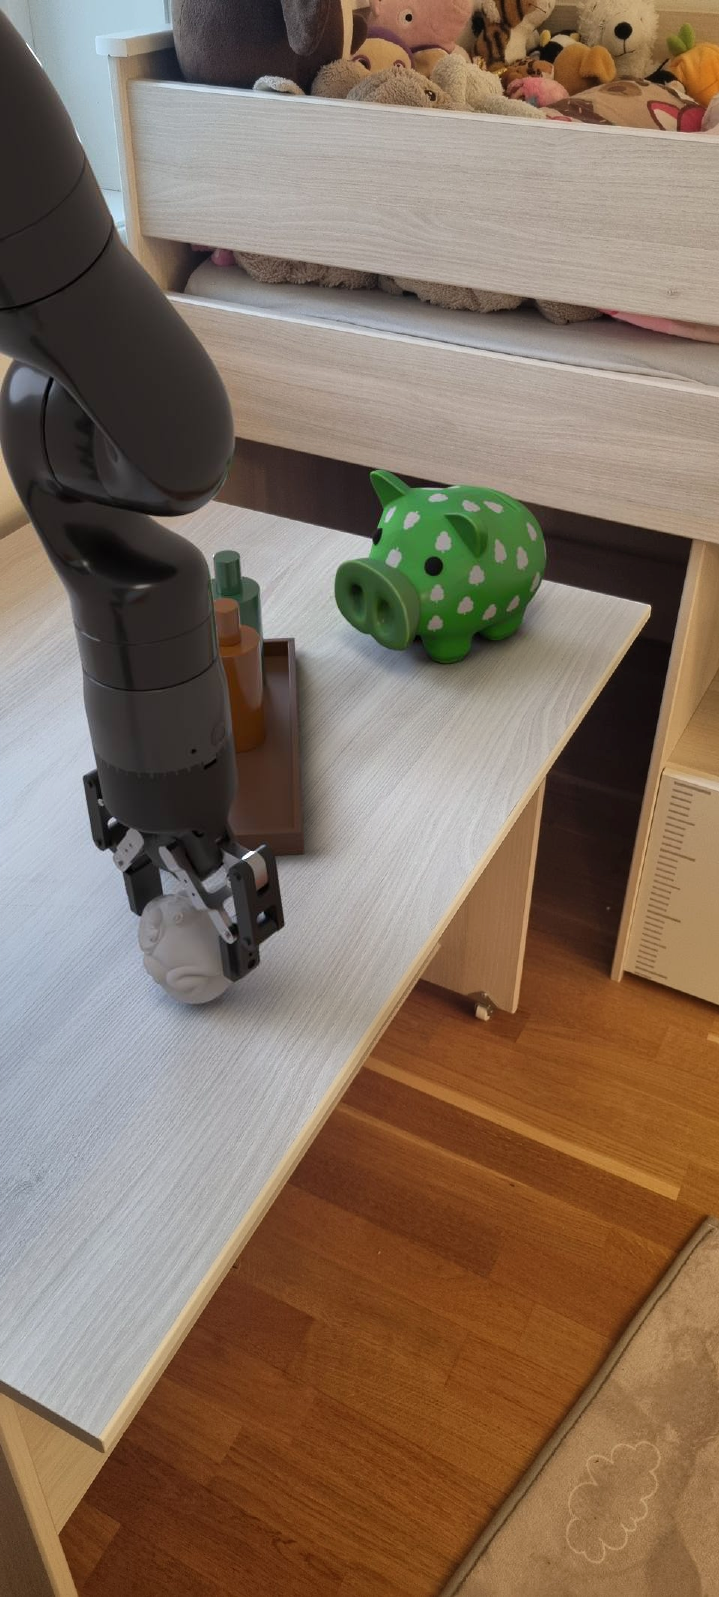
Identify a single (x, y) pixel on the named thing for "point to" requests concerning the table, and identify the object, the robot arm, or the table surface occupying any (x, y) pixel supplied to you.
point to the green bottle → (239, 593)
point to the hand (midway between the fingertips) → (193, 939)
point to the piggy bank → (443, 568)
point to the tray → (272, 764)
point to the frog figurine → (181, 949)
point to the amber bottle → (242, 675)
